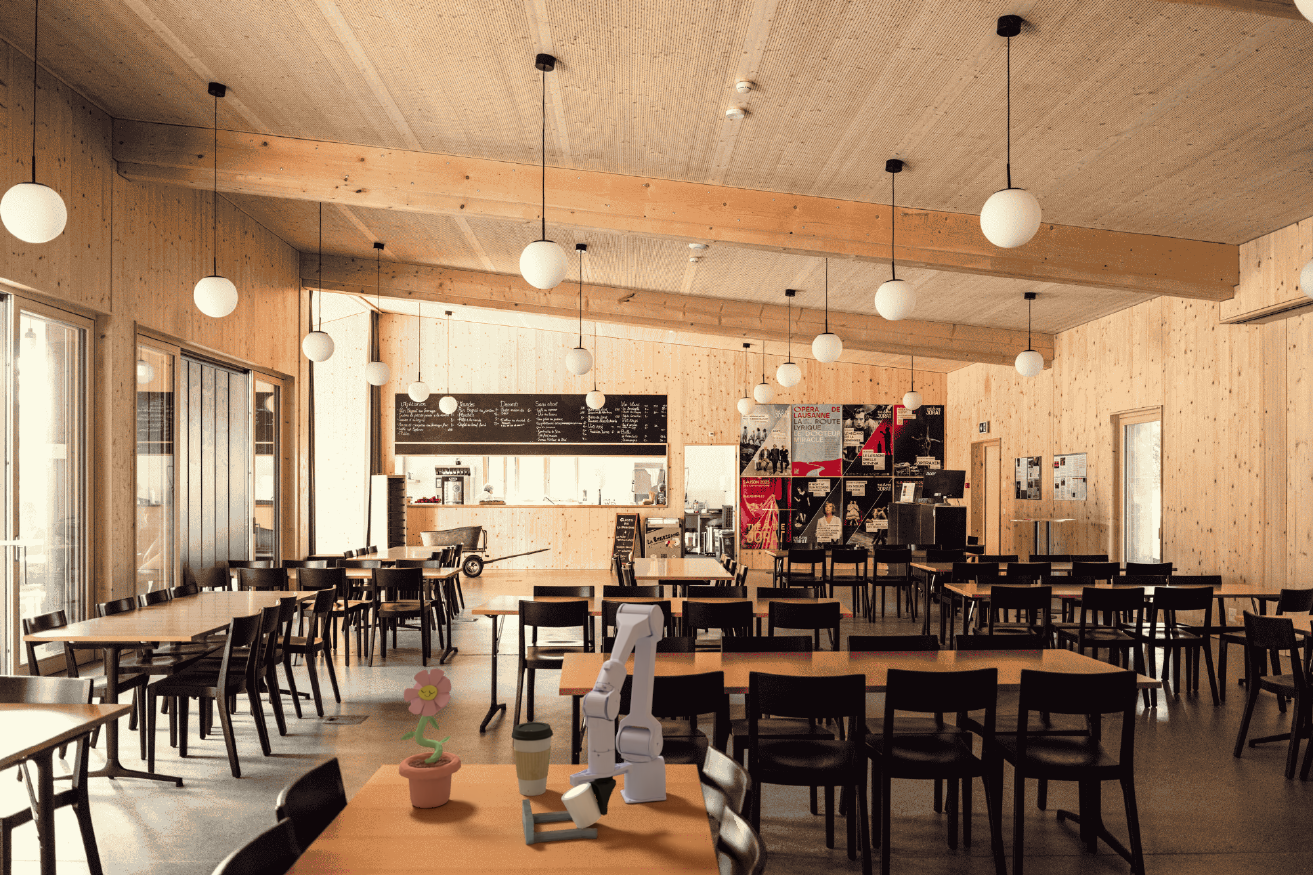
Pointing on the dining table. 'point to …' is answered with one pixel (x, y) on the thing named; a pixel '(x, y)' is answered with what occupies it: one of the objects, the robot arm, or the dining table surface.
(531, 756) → the coffee cup
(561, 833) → the grey hook bracket
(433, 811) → the dining table surface
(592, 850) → the dining table surface
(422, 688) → the decorative flower
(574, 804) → the shot glass
